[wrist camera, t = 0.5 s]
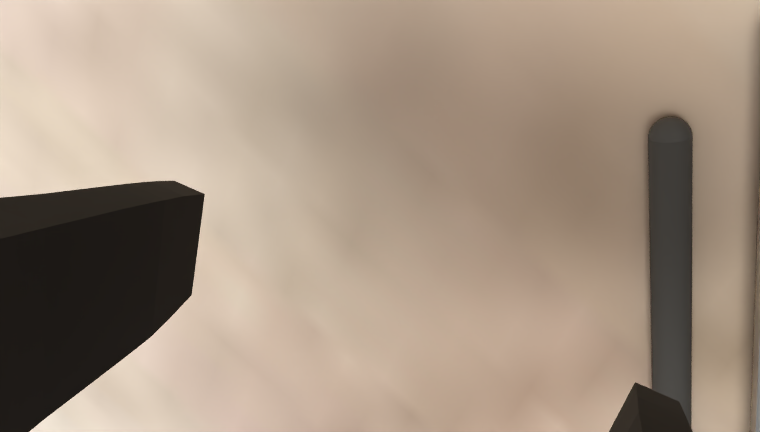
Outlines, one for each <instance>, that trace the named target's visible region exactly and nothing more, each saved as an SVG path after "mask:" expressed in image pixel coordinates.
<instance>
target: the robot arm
mask: <svg viewBox="0 0 760 432" xmlns="http://www.w3.org/2000/svg"><path fill="white" fill-rule="evenodd" d="M204 195H205V194H203V193H201V192H199V191H196V190H194V189H192V188H189V187H187V186H185V185H182V184H180V183H178V182H176V181H154V182H141V183H131V184H122V185H113V186H105V187H96V188H88V189H80V190H72V191H63V192H55V193H47V194H37V195H26V196H15V197H4V198H0V432H29V431H30V430H32V429H33V428H34V427H35V426H36V425H38V424H39V423H40V422H41V421H42V420H44V419H45V418H46V417H48V416H49V415H50V414H52V413H53V412H54V411H55V410H57V409H58V408H59V407H61V406H62V405H63V404H65V403H66V402H67V401H68V400H70V399H71V398H72V397H74V396H75V395H76V394H78V393H79V392H80V391H82V390H83V389H84V388H85V387H87V386H88V385H89V384H91V383H92V382H93V381H95V380H96V379H97V378H99V377H100V376H101V375H102V374H104V373H105V372H106V371H108V370H109V369H110V368H112V367H113V366H114V365H116V364H117V363H118V362H119V361H121V360H122V359H123V358H124V357H126V356H127V355H128V354H130V353H131V352H132V351H133V350H135V349H136V348H137V347H139V346H140V345H141V344H142V343H144V342H145V341H146V340H147V339H149V338H150V337H151V336H152V335H153V334H154V333H155V332H156V331H157V330H158V329H159V328H160V327H161V326H162V325H163V324H164V323H165V322H166V321H167V320H168V319H169V318H170V317H171V316H172V315H173V314H174V313H175V312H176V311H177V310H178V309H179V308H180V307H181V306H182V305H183V303H184V302H185V301H186V300H187V299H188V298H189V297H190V296H191V295H192V287H193V280H194V272H195V264H196V256H197V249H198V241H199V233H200V226H201V218H202V210H203V202H204ZM609 432H692V429H691V427H690V425H689V422H688V420H687V418H686V415H685V413H684V411H683V409H682V406H681V404H680V402H679V401H677V400H674V399H672V398H670V397H668V396H665V395H663V394H661V393H658V392H656V391H654V390H652V389H649V388H647V387H645V386H642V385H640V384H638V383H636V382H635V384H634V386H633V387H632V389H631V391H630V393H629V395H628V397H627V399H626V401H625V403H624V404H623V406H622V408H621V410H620V412H619V414H618V416H617V418H616V419H615V421H614V423H613V425H612V427H611V429H610V431H609Z"/></svg>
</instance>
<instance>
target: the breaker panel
mask: <svg viewBox="0 0 760 432" xmlns="http://www.w3.org/2000/svg"><path fill="white" fill-rule="evenodd" d="M750 432H760V182H759V208H758V234H757V260H756V286H755V312H754V339H753V365H752V391H751V417H750Z"/></svg>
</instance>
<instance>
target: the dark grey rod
mask: <svg viewBox="0 0 760 432" xmlns="http://www.w3.org/2000/svg"><path fill="white" fill-rule="evenodd" d="M648 166H649V225H650V285H651V344H652V390H654V391H656V392H658V393H661V394H663V395H665V396H668V397H670V398H672V399H674V400H677V401H679V402H680V404H681V406H682V409H683V411H684V413H685V415H686V418H687V420H688V422H689V425H690V427H691V341H692V131H691V128H690V126H689V125H688V124H687V123H686V122H685V121H684V120H682V119H680V118H677V117H665V118H662V119H660V120H658V121H657V122H656V123H654V125H653V126H652V127H651V129H650V131H649V134H648Z"/></svg>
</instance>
